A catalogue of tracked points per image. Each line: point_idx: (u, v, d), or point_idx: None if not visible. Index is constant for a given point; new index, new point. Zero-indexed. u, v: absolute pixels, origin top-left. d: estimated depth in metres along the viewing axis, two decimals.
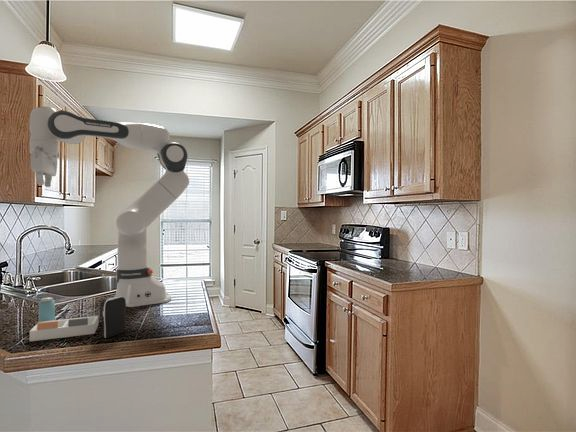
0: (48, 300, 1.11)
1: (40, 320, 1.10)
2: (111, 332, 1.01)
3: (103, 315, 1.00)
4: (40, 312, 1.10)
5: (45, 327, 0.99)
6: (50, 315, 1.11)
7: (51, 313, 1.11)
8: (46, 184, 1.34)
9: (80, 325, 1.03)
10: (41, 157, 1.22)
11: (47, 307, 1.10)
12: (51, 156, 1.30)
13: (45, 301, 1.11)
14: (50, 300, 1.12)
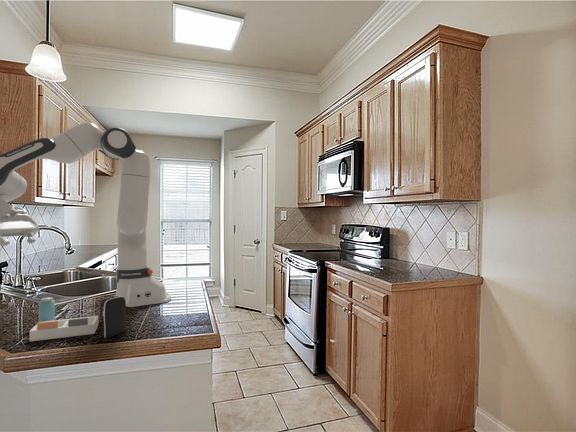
0: (48, 300, 1.11)
1: (40, 320, 1.10)
2: (111, 332, 1.01)
3: (103, 315, 1.00)
4: (40, 312, 1.10)
5: (45, 327, 0.99)
6: (50, 315, 1.11)
7: (51, 313, 1.11)
8: (29, 241, 1.20)
9: (80, 325, 1.03)
10: None
11: (47, 307, 1.10)
12: (1, 214, 1.16)
13: (45, 301, 1.11)
14: (50, 300, 1.12)
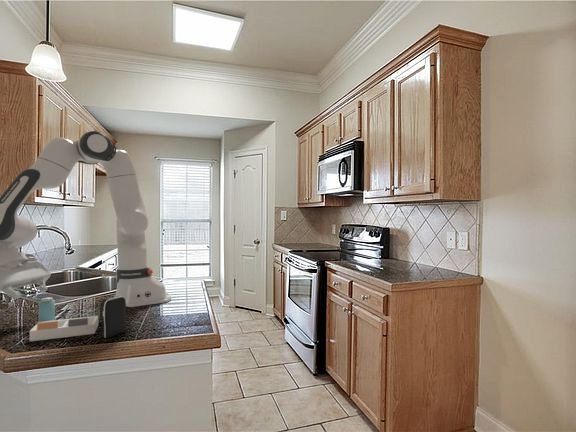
0: (48, 300, 1.11)
1: (40, 320, 1.10)
2: (111, 332, 1.01)
3: (103, 315, 1.00)
4: (40, 312, 1.10)
5: (45, 327, 0.99)
6: (50, 315, 1.11)
7: (51, 313, 1.11)
8: (41, 289, 1.17)
9: (80, 325, 1.03)
10: None
11: (47, 307, 1.10)
12: (12, 264, 1.13)
13: (45, 301, 1.11)
14: (50, 300, 1.12)
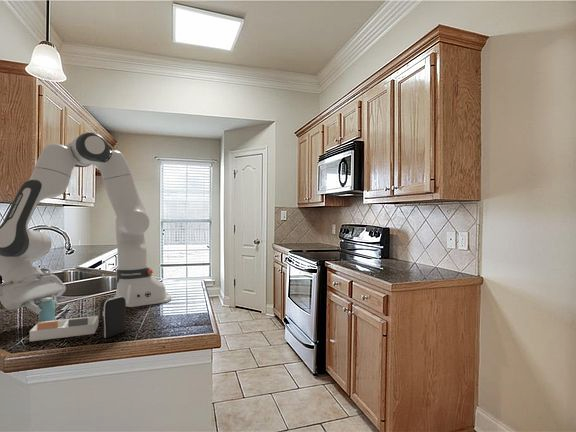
0: (48, 300, 1.11)
1: (40, 320, 1.10)
2: (111, 332, 1.01)
3: (103, 315, 1.00)
4: None
5: (45, 327, 0.99)
6: (50, 315, 1.11)
7: (51, 313, 1.11)
8: None
9: (80, 325, 1.03)
10: (5, 292, 1.04)
11: (47, 307, 1.10)
12: (28, 280, 1.12)
13: (45, 301, 1.11)
14: (50, 300, 1.12)
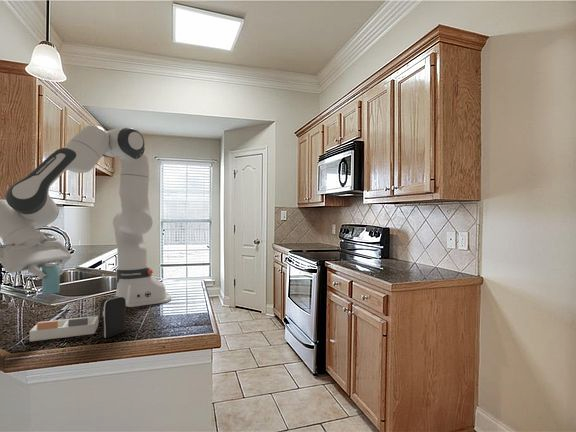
0: (52, 265, 1.03)
1: (44, 286, 1.02)
2: (111, 332, 1.01)
3: (103, 315, 1.00)
4: None
5: (45, 327, 0.99)
6: (54, 281, 1.03)
7: (56, 279, 1.03)
8: None
9: (80, 325, 1.03)
10: (6, 253, 0.95)
11: (51, 272, 1.02)
12: (31, 243, 1.03)
13: (49, 266, 1.02)
14: (54, 265, 1.03)
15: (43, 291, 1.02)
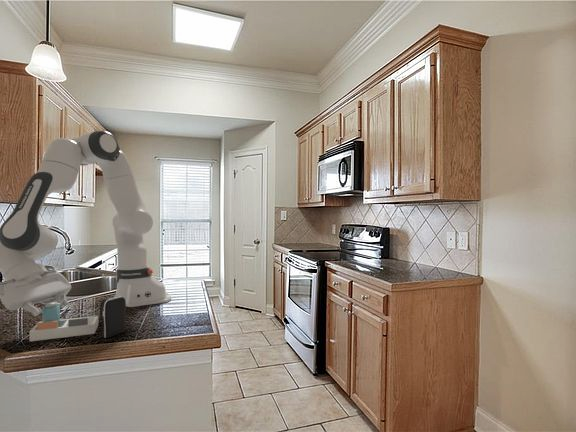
0: (53, 305, 1.03)
1: None
2: (111, 332, 1.01)
3: (103, 315, 1.00)
4: (44, 318, 1.02)
5: (45, 327, 0.99)
6: None
7: (56, 319, 1.03)
8: (62, 304, 1.08)
9: (80, 325, 1.03)
10: (6, 290, 0.95)
11: (51, 313, 1.02)
12: (32, 278, 1.03)
13: (49, 306, 1.02)
14: (55, 305, 1.03)
15: None
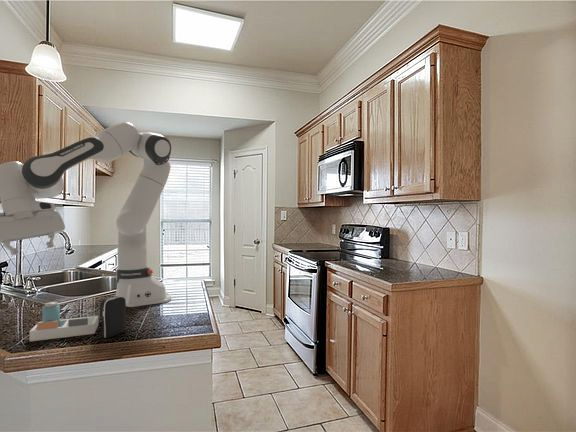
0: (53, 305, 1.03)
1: None
2: (111, 332, 1.01)
3: (103, 315, 1.00)
4: (44, 318, 1.02)
5: (45, 327, 0.99)
6: None
7: (56, 319, 1.03)
8: (47, 245, 1.10)
9: (80, 325, 1.03)
10: None
11: (51, 313, 1.02)
12: (19, 215, 1.05)
13: (49, 306, 1.02)
14: (55, 305, 1.03)
15: None
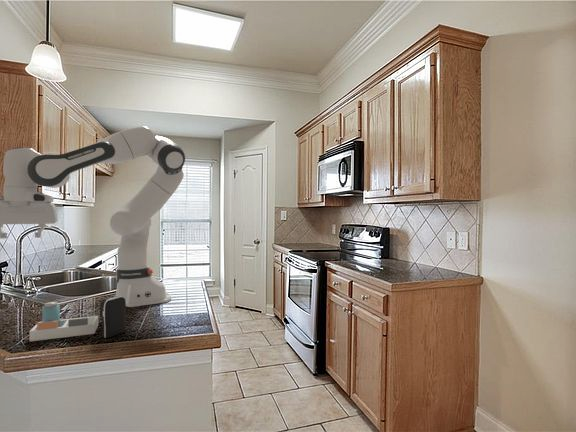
0: (52, 305, 1.03)
1: None
2: (111, 332, 1.01)
3: (103, 315, 1.00)
4: (44, 318, 1.02)
5: (45, 327, 0.99)
6: None
7: (56, 319, 1.03)
8: None
9: (80, 325, 1.03)
10: None
11: (51, 313, 1.02)
12: (12, 204, 1.09)
13: (49, 306, 1.02)
14: (55, 305, 1.03)
15: None
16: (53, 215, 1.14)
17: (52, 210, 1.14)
